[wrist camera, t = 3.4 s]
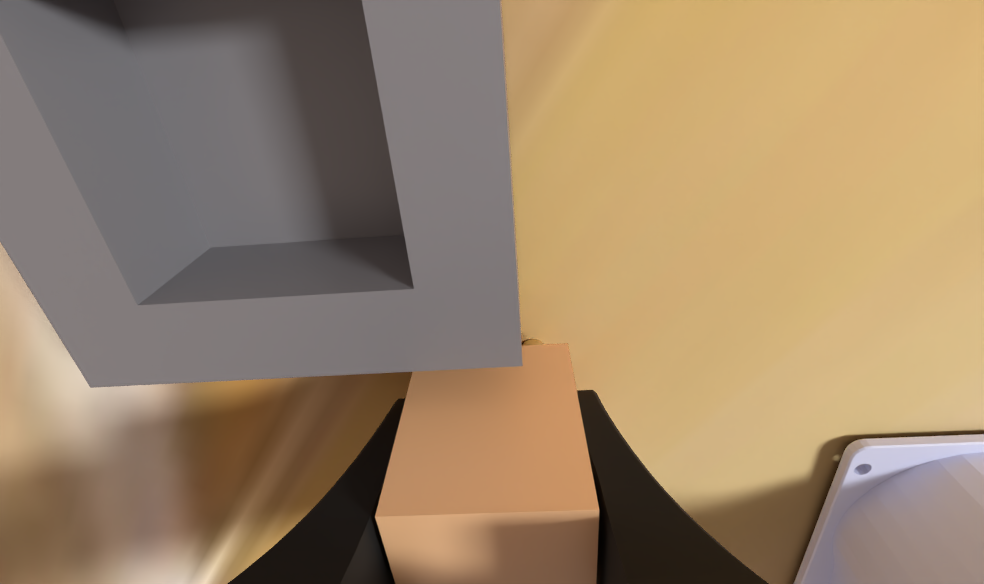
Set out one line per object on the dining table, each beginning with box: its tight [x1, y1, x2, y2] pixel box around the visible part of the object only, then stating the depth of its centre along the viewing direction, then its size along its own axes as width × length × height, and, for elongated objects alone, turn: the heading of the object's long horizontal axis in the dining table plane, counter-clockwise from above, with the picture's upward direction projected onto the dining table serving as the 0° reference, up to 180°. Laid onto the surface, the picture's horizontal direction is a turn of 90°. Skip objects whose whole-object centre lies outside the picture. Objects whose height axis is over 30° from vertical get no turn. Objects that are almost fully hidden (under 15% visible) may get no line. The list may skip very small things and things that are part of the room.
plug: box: [375, 339, 599, 584], centre depth 12 cm, size 4×4×6 cm
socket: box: [0, 0, 523, 387], centre depth 10 cm, size 10×10×4 cm
